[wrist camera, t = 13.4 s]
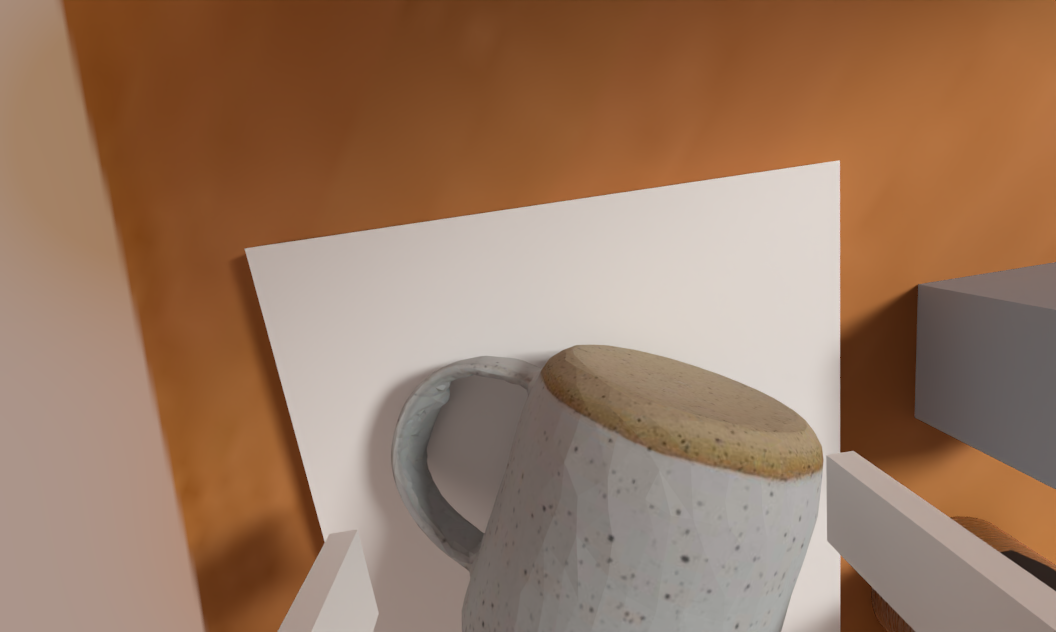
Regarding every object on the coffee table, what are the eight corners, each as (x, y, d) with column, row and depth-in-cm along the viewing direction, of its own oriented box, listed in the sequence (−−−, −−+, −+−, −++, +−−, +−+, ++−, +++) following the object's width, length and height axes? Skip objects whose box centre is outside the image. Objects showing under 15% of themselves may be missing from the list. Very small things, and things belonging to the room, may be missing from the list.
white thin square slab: (818, 163, 16) (839, 160, 15) (823, 624, 20) (840, 646, 19) (260, 245, 15) (244, 248, 14) (380, 697, 19) (373, 723, 18)
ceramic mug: (749, 361, 16) (960, 496, 8) (678, 575, 18) (802, 847, 10) (427, 292, 15) (345, 373, 8) (384, 522, 17) (280, 776, 9)
